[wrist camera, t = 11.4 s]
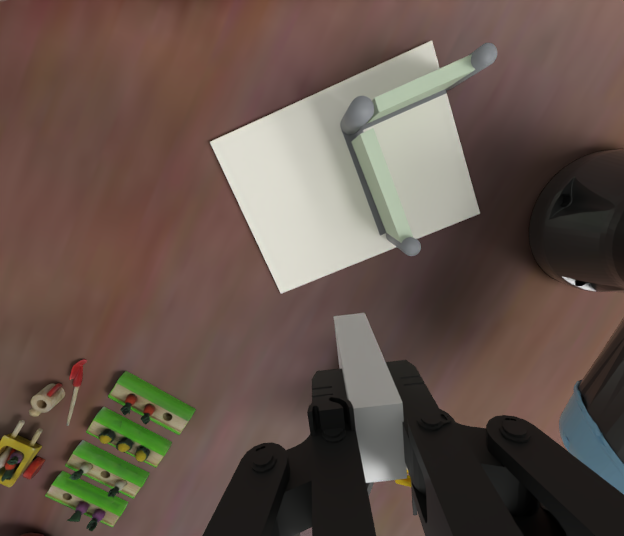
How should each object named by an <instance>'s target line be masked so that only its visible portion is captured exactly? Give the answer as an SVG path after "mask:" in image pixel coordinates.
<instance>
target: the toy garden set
mask: <svg viewBox="0 0 624 536" xmlns="http://www.w3.org/2000/svg"><path fill="white" fill-rule="evenodd" d="M86 362H87V360H86V359H82V360H80V361H78V362H77V363H76V364H74V365H73V367H72V370H71V374H70V377H69V380H71V379H74V380H73V386H75V387H74V391H73V396H72V400H71V405H70V410H69V414H68V420H67V426H69V422H70V419H71V415H72V412H73V408H74V405H75V401H76V397H77V393H78V389H79V386H80V385H81V382H82V376H83V366H82V365H83V364H85V363H86ZM61 386H62V384H60V383H57V384H49V385H47V386H46V387H45V388H43V389H42V390H41V391H40V392H38V393H37V394H36V395H35V396H33V397H32V399H31V405H32V407H33V408H31V409H30V410H29V414H30V415H31V416H33V417H36V416H39V415H40V413H41V412H42V413H43V412H48V411H50V410H51V409H52V408H53V407H54V406H55V405H56V404H57V403H59V402H60V401H61V400H62V399H63V398H64V396H65V392H64V389H62V388H61ZM108 398H110V399H112V400H114V401H116V402H117V403H119V404H121V405H123V407H122V408H121V411H122V412H123V414H124V415H126V414H127V413H129V414H130V409H131V410H132V411H134V412H136V413H138V414H140V415H142V417H141V420H142V421H143V423H145V424H147V423H148V422H149V421H150V420H151V421H153V422H155V423H157V424H159V425H160V426H162V427H164V428H166V429H168V430H170V431H172V432H174V433H176V434H178V435H180V433H181V432H182V430H183V429H184V427H185V426H186V424H187V423H188V421H189V420H190V419H191V417H192V415H193V414H194V412H195V410H196V409H195V408H193V407H191V406H189V405H187V404H185V403H184V402H182V401H180V400H178V399H176V398H174V397H173V396H171V395H169V394H167V393H165V392H164V391H162V390H160V389H158V388H156V387H155V386H153V385H151V384H149V383H147V382H145V381H144V380H142V379H140V378H138V377H136V376H135V375H133V374H131V373H129V372H127V371H125V372H124V373H123V374H122V375H121V377H120V378H119V379H118V381H117V382H116V384H115V386H114V388H113V389H112V391H111V392H110V394H109V395H108ZM168 413H170V414H168ZM24 423H25V421H24V420H20V421H19V423H18V424H17V426H16V428H15V429H14V431H13V433H11V434H7V435H4V436H3V437H2V439H0V484H2V485H5V486H7V487H11V486H13V484H14V483H15V482H16V480H17V479H18V478H19V476H20V475H21V474H22V473H23V477H25V478H27V479H29V480H30V479H32V478H33V477H34V476H35V475H36V474H37V473H38V471H39V470H40V469H41V467H42V465H43V463H44V462H45V459H43V458H41V457H37V458H36V459H35V460H33V458H34V457H35V456H36V454H37V453H38V452H39V450H40V449H41V447H42V446H41V445H39V444H37V443H36V441H37V439H38V438H39V436H40V434H41V433H42V431H43V429H41V428H39V429H38V430H37V431H36V433H35V435H34V436H33V438H32V440H31V441H30V440H28V439H26V438H23V437H21V436H19V435H17V434H18V433H19V431H20V429H21V428H22V426H23V425H24ZM86 433H88V434H90V435H92V436H94V437H96V438H98V439H100V442H101V443H103V444H106V443H108V444H110V445H112V446H113V447H115V448H117V450H119V451H121V452H124V453H127V454H129V455H131V456H133V457H135V458H136V460H137V461H139V462H145V463H147V464H149V465H151V466H153V467H155V468H156V467H157V466H158V464H159V463H160V461H161V460H162V458H163V457H164V456H165V454H166V453H167V451H168V449H169V448H170V446H171V444H172V442H171V441H169V440H167V439H165V438H163V437H161V436H159V435H157V434H156V433H154V432H152V431H150V430H148V429H146V428H144V427H142V426H140V425H138V424H136V423H134V422H132V421H130V420H129V419H127V418H125V417H123V416H121V415H119V414H117V413H115V412H113V411H111V410H109V409H107V408H106V407H103V408H102V409H101V410H100V411H99V412H98V414H97V415H96V416H95V418H94V419H93V421H92V423H91V425H90V426H89V428H88V429H87V431H86ZM32 460H33V461H32ZM65 466H66V467H68V468H70V469H72V470H74V471H76V472H74V473H73V474H72V475H70V474H68V473H66V472H64V471H62V472H61V473H60V474H59V475H58V476H57V478H56V479H55V480H54V482H53V483H52V485H51V487H50V489H49V490H48V492H47V493H46V495H45V496H46V497H48V498H50V499H52V500H54V501H56V502H59V503H61V504H63V505H65V506H67V507H69V508H72V509H74V510H75V512H76V513H74V514H73V516H72V517H71V518H70V519H68V520H67V521H74V522H79V521H80V518H81V515H82V514H84V515H87V516H89V517H91V518H92V520H91V521H90V522H89V524H88V525H87V529H88V528H89V531H93V530H94V529H95V527H96V526H97V522H99V521H100V522H102V523H104V524H106V525H108V526H110V527H113V526H114V524H115V523H116V521H117V520H118V519H119V517H120V516H121V514H122V513H123V511H124V510H125V508H126V506H127V504H128V502H127V501H125V500H123V499H121V498H119V497H117V496H115V495H116V493H118V494H119V492H120V493H122V494H124V495H126V496H128V497H130V498H132V499H133V498H134V497H135V496H136V494H137V493H138V491H139V490H140V488H141V487H142V486H143V484H144V483H145V481H146V479H147V478H148V476H149V474H150V473H149V472H146V471H144V470H142V469H140V468H138V467H136V466H134V465H132V464H130V463H128V462H126V461H124V460H122V459H120V458H118V457H116V456H114V455H112V454H110V453H108V452H106V451H104V450H102V449H100V448H98V447H96V446H94V445H92V444H90V443H88V442H86V441H84V440H82V441H81V442H80V444H79V445H78V446H77V447H76V449H75V450H74V451H73V453H72V455H71V457H70V458H69V460H68V462H67V463H66V464H65ZM81 475H84V476H87V477H89V478H91V479H93V480H95V481H97V482H99V483H101V484H103V485H105V486H108V487H110V488H112V489H111V490H110V491H109V493H108V492H106V491H104V490H102V489H100V488H98V487H96V486H93V485H91V484H89V483H87V482H85V481H83V480H81V479H79V478H80V477H81Z"/></svg>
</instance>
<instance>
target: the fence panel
mask: <svg viewBox="0 0 624 536" xmlns="http://www.w3.org/2000/svg"><path fill="white" fill-rule="evenodd" d="M351 143H352V145H353V148H354V150H355V153H356V155H357V158H358V161H359V163H360V166H361V168H362V171H363V174H364V176H365V179H366V181H367V184H368V186H369V189H370V192H371V194H372V197H373V199H374V202H375V205H376V207H377V210H378V212H379V215H380V217H381V220H382V223H383V225H384V228H385V230H386V238H387V240H388V241H390V242H391V243H392V244H393V245H395V246H396V247H397V248H399V249H400V250H401V251H403V252H404V253H405V254H406V255H408V256H414V255H417V254H418V253H419V252H420V249H421V244H420V242H419V241H418V240H417V239H415V238H414V237H413V235H412V232H411V229H410V227H409V224H408V221H407V218H406V216H405V213H404V210H403V207H402V205H401V202H400V199H399V197H398V194H397V191H396V188H395V186H394V183H393V180H392V177H391V175H390V172H389V169H388V167H387V164H386V161H385V158H384V156H383V153H382V150H381V147H380V145H379V142H378V139H377V137H376V134H375V131H374V128H372V129H370V130H368V131H366V132H364V133H361V134H360V135H359V136H357V137H356V138H355V139H354V140H353V141H351Z"/></svg>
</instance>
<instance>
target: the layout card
mask: <svg viewBox="0 0 624 536" xmlns="http://www.w3.org/2000/svg"><path fill="white" fill-rule="evenodd" d="M438 69H440V68H439V64H438V60H437V57H436V53H435V50H434V46H433V42H432V41H430V42H427V43H425V44H423V45H421V46H419V47H416V48H414V49H412V50H410V51H408V52H405V53H403V54H401V55H399V56H397V57H395V58H392V59H390V60H388V61H386V62H384V63H381V64H379V65H377V66H375V67H373V68H370V69H368V70H366V71H364V72H362V73H360V74H357V75H355V76H353V77H351V78H349V79H346V80H344V81H342V82H340V83H338V84H335V85H333V86H331V87H329V88H327V89H325V90H322V91H320V92H318V93H316V94H314V95H311V96H309V97H307V98H305V99H303V100H300V101H298V102H296V103H294V104H292V105H290V106H287V107H285V108H283V109H281V110H279V111H276V112H274V113H272V114H270V115H268V116H265V117H263V118H261V119H259V120H257V121H255V122H252V123H250V124H248V125H246V126H244V127H241V128H239V129H237V130H235V131H233V132H230V133H228V134H226V135H224V136H222V137H220V138H217V139H215V140H213V141H211V142H210V144H211V146H212V148H213V150H214V152H215V154H216V157H217V159H218V161H219V163H220V165H221V167H222V169H223V171H224V174H225V176H226V178H227V180H228V182H229V184H230V186H231V189H232V191H233V193H234V195H235V197H236V199H237V201H238V203H239V206H240V208H241V210H242V212H243V214H244V216H245V218H246V221H247V223H248V225H249V227H250V229H251V231H252V233H253V235H254V238H255V240H256V242H257V244H258V246H259V248H260V250H261V252H262V255H263V257H264V259H265V261H266V263H267V265H268V267H269V270H270V272H271V274H272V276H273V278H274V280H275V282H276V284H277V287H278V289H279V291H280V293H284V292H286V291H289V290H291V289H294V288H296V287H299V286H301V285H304V284H306V283H309V282H311V281H314V280H316V279H319V278H321V277H324V276H326V275H329V274H331V273H334V272H336V271H339V270H341V269H344V268H346V267H349V266H351V265H354V264H356V263H359V262H361V261H364V260H366V259H369V258H371V257H374V256H376V255H379V254H381V253H384V252H386V251H389V250H391V249H393V248H396V246H395V245H393V244H392V243H391V242H390V241H388V240H387V238H386V230H385V228H384V225H383V223H382V220H381V217H380V215H379V212H378V210H377V207H376V205H375V202H374V199H373V197H372V194H371V192H370V189H369V186H368V184H367V181H366V179H365V176H364V174H363V171H362V168H361V166H360V163H359V161H358V158H357V155H356V153H355V150H354V148H353V145H352V143H351V141H353V140H354V139H355V138H356V137H357V136H359V135H360V134H361V133H364V132H366V131H368V130H370V129H372V128H374V131H375V134H376V137H377V139H378V142H379V145H380V147H381V150H382V153H383V156H384V158H385V161H386V164H387V167H388V169H389V172H390V175H391V177H392V180H393V183H394V186H395V188H396V191H397V194H398V197H399V199H400V202H401V205H402V207H403V210H404V213H405V216H406V218H407V221H408V224H409V227H410V229H411V232H412V235H413V237H414V238H415V239H418V238H421V237H423V236H426V235H428V234H431V233H433V232H436V231H438V230H441V229H443V228H446V227H448V226H451V225H453V224H456V223H458V222H461V221H463V220H466V219H468V218H471V217H473V216H476V215H478V214H480V211H479V208H478V204H477V201H476V197H475V193H474V190H473V186H472V183H471V179H470V175H469V172H468V168H467V165H466V161H465V157H464V154H463V150H462V147H461V143H460V139H459V136H458V132H457V129H456V125H455V122H454V118H453V114H452V111H451V107H450V104H449V100H448V96H447V92H446V89H444V90H442V91H440V92H438V93H435V94H433V95H431V96H429V97H426V98H424V99H422V100H420V101H417V102H415V103H413V104H410V105H408V106H406V107H404V108H401V109H399V110H397V111H395V112H392V113H390V114H388V115H386V116H383V117H381V118H379V119H376V120H374V121H372V122H370V123H366V124H365V125H363V126H362V127H361V128H360V129H359V130H358V131H357V132H356V133H355V134H352V135H347V134H345V133H344V132H343V131H342V129H341V127H340V123H341V120H342V118H343V116H344V114H345V113H346V111H347V109H348V107H349V106H350V104H351V102H352V101H353V100H354V99H355V98H356V97H358V96H366V97H368V98H370V99H371V100H373V99H374V98H375V97H377V96H380V95H382V94H384V93H386V92H389V91H391V90H393V89H395V88H398V87H400V86H402V85H404V84H407V83H409V82H411V81H413V80H415V79H418V78H420V77H422V76H424V75H427V74H429V73H431V72H433V71H436V70H438Z"/></svg>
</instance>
